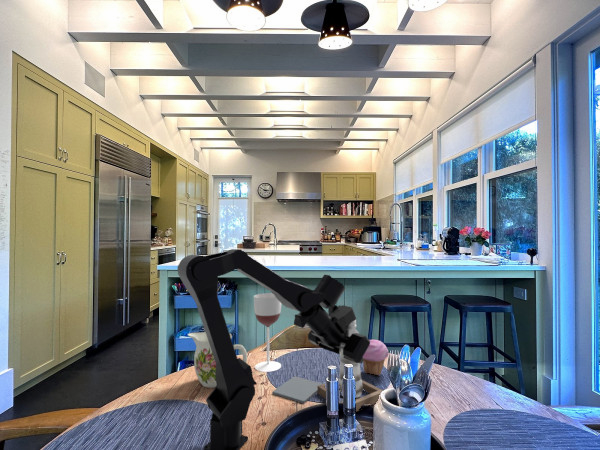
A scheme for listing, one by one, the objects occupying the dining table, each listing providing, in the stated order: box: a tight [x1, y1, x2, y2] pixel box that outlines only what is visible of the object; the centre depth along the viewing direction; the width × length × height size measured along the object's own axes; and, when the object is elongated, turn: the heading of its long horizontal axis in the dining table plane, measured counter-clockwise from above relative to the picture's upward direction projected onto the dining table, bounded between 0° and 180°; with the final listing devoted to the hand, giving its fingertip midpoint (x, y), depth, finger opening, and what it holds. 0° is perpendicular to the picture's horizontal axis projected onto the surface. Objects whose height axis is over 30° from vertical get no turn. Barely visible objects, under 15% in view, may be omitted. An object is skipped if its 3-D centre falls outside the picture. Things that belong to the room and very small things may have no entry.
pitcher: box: [187, 331, 248, 389], centre depth 91 cm, size 11×18×14 cm, turn 83°
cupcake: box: [362, 339, 389, 376], centre depth 97 cm, size 9×9×10 cm
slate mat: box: [272, 376, 323, 404], centre depth 86 cm, size 11×10×1 cm
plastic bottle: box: [338, 319, 363, 400], centre depth 83 cm, size 6×7×20 cm
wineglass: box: [253, 292, 282, 373], centre depth 103 cm, size 9×10×23 cm
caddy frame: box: [317, 378, 384, 413], centre depth 82 cm, size 12×12×2 cm
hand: (353, 358), depth 83 cm, fingers closed on plastic bottle, 6 cm apart
